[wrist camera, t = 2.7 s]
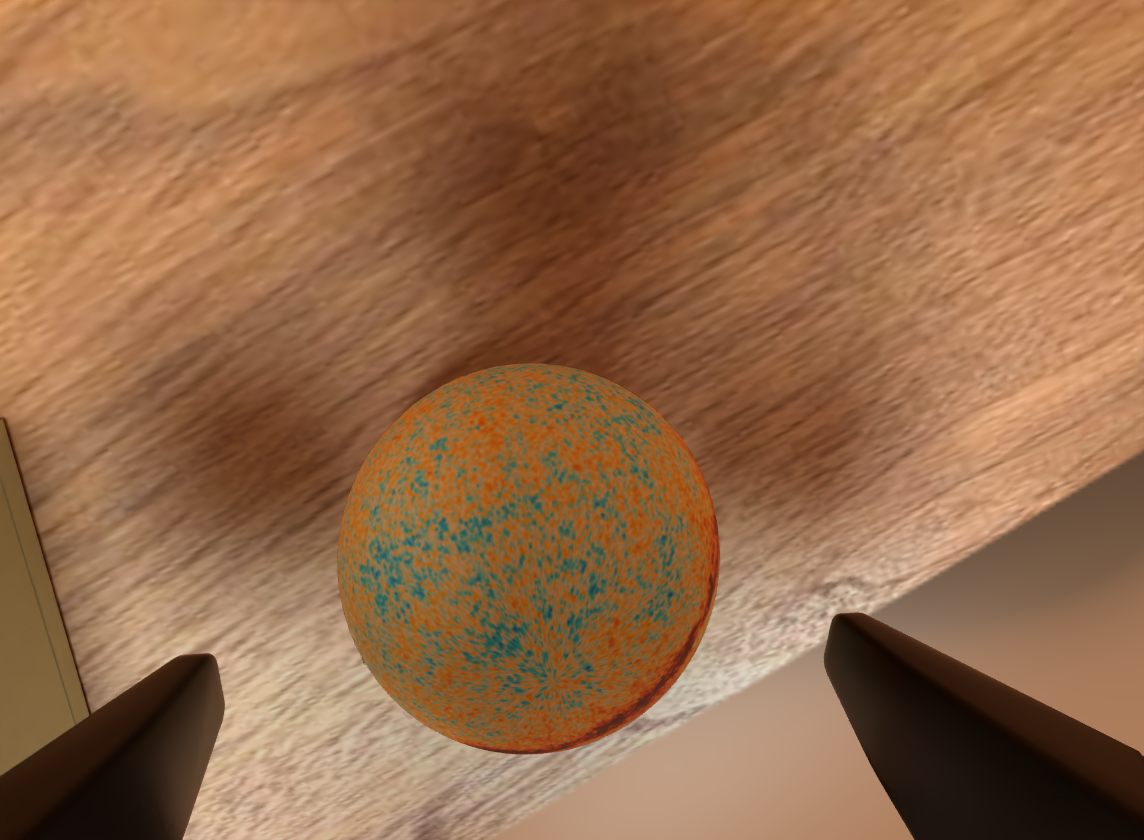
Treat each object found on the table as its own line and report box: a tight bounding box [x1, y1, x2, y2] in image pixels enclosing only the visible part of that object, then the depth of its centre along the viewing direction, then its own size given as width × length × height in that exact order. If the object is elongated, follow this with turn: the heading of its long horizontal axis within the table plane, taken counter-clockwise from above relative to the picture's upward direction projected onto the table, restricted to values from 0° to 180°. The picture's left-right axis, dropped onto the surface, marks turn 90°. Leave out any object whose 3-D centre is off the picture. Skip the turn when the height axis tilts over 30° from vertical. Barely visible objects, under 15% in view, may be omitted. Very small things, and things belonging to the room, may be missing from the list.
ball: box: [337, 363, 720, 754], centre depth 11 cm, size 7×7×7 cm
